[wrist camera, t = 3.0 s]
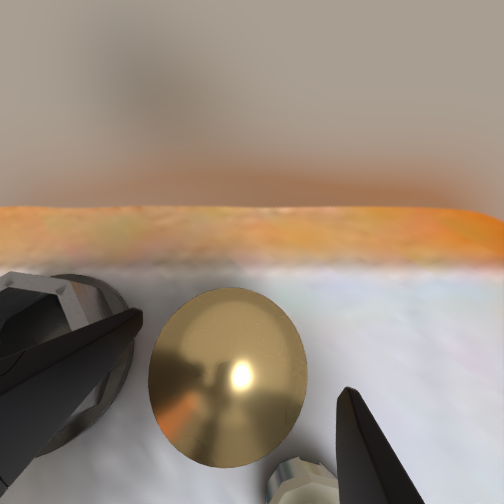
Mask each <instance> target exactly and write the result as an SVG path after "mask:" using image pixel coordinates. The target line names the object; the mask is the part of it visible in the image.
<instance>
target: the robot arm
mask: <svg viewBox="0 0 504 504" xmlns="http://www.w3.org/2000/svg"><path fill="white" fill-rule="evenodd" d="M142 325H143V312H142V310H140V309H137V308H130V309H127V310H125V311H122V312H120V313H117V314H115V315H112V316H110V317H107V318H104V319H102V320H99V321H97V322H94V323H92V324H89V325H87V326H84V327H82V328H79V329H76V330H74V331H71V332H69V333H66V334H64V335H61V336H59V337H56V338H53V339H51V340H48V341H46V342H43V343H41V344H38V345H36V346H33V347H30V348H28V349H27V350H23V351H20V352H18V353H15V354H12V355H10V356H7V357H5V358H2V359H0V497H1V496H2V495H3V494H4V493H5V492H6V490H7V489H8V487H10V486H11V484H12V483H13V482H14V481H15V480H16V479H17V477H18V476H19V475H20V474H21V473H22V472H23V470H24V469H25V468H26V467H27V466H28V465H29V464H30V462H31V461H32V460H33V459H34V458H35V457H36V455H37V454H38V453H39V452H40V451H41V450H42V448H43V447H44V446H45V445H46V444H47V443H48V441H49V440H50V439H51V438H52V437H53V436H54V434H55V433H56V432H57V431H58V430H59V429H60V427H61V426H62V425H63V424H64V423H65V422H66V421H67V419H68V418H69V417H70V416H71V415H72V414H73V412H74V411H75V410H76V409H77V408H78V407H79V405H80V404H81V403H82V402H83V401H84V400H85V398H86V397H87V396H88V395H89V394H90V393H91V391H92V390H93V389H94V388H95V387H96V386H97V385H98V383H99V382H100V381H101V380H102V379H103V378H104V376H105V375H106V374H107V373H108V372H109V371H110V369H111V368H112V367H113V366H114V365H115V364H116V362H117V361H118V360H119V359H120V357H121V356H122V355H123V353H124V352H125V350H126V349H127V348H128V346H129V345H130V343H131V342H132V341H133V339H134V338H135V336H136V335H137V334H138V332H139V331H140V329H141V328H142ZM336 462H337V475H338V489H339V502H340V504H425V503H424V501H423V499H422V498H421V496H420V494H419V493H418V491H417V489H416V488H415V486H414V484H413V483H412V481H411V479H410V478H409V476H408V474H407V473H406V471H405V469H404V467H403V466H402V464H401V462H400V461H399V459H398V457H397V456H396V454H395V452H394V451H393V449H392V447H391V446H390V444H389V442H388V440H387V439H386V437H385V435H384V434H383V432H382V430H381V429H380V427H379V425H378V424H377V422H376V420H375V419H374V417H373V415H372V414H371V412H370V410H369V408H368V407H367V405H366V403H365V402H364V400H363V398H362V397H361V395H360V393H359V392H358V391H357V390H356V389H353V388H351V387H345V388H344V390H343V391H342V392H341V394H340V395H339V397H338V399H337V407H336Z"/></svg>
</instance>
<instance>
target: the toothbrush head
mask: <svg viewBox="0 0 504 504" xmlns="http://www.w3.org/2000/svg"><path fill="white" fill-rule="evenodd" d="M266 504H340V502H339V489H338V479H337V478H336V477H335V476H334V475H333V474H331V473H330V472H329V471H328V470H327V469H326V468H325V467H324V466H323V465H322V464H321V463H320V462H319V464H318V465H317V464H313V463H309V462H306V461H302V460H300V458H299V456H298V457H295V458H293V459H290V460H287V461H285V462H282V463H279V465H278V467H277V468H276V470H275V471H274V473H273V474H272V476H271V477H270V479H269V480H268V482H267V491H266Z"/></svg>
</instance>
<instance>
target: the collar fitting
mask: <svg viewBox="0 0 504 504" xmlns="http://www.w3.org/2000/svg"><path fill="white" fill-rule="evenodd" d="M127 309H128V307H127V305H126V303H125V301H124V300H123V298H122V297H121V296H120V295H119V294H118V292H117V291H115V290H114V289H113V288H112V287H111V286H109V285H107V284H106V283H104V282H102V281H99V280H97V279H94V278H90V277H87V276H82V275H75V274H64V275H56V276H51V277H44V276H37V275H31V274H25V273H18V272H12V271H11V272H9V273H7V274H5V275H3V276H2V277H0V359H2V358H5V357H7V356H10V355H12V354H15V353H18V352H20V351H23V350H27V349H28V348H30V347H33V346H36V345H38V344H41V343H43V342H46V341H48V340H51V339H53V338H56V337H59V336H61V335H64V334H66V333H69V332H71V331H74V330H76V329H79V328H82V327H84V326H87V325H89V324H92V323H94V322H97V321H99V320H102V319H104V318H107V317H110V316H112V315H115V314H117V313H120V312H122V311H125V310H127ZM133 349H134V339H133V341H132V342H131V343H130V345H129V346H128V348H127V349H126V350H125V352H124V353H123V355H122V356H121V357H120V359H119V360H118V361H117V362H116V364H115V365H114V366H113V367H112V368H111V369H110V371H109V372H108V373H107V374H106V375H105V376H104V378H103V379H102V380H101V381H100V382H99V383H98V385H97V386H96V387H95V388H94V389H93V390H92V391H91V393H90V394H89V395H88V396H87V397H86V398H85V400H84V401H83V402H82V403H81V404H80V405H79V407H78V408H77V409H76V410H75V411H74V412H73V414H72V415H71V416H70V417H69V418H68V419H67V421H66V422H65V423H64V424H63V425H62V426H61V427H60V429H59V430H58V431H57V432H56V433H55V434H54V436H53V437H52V438H51V439H50V440H49V441H48V443H47V444H46V445H45V446H44V447H43V448H42V450H41V451H40V452H39V453H38V454H37V455H36V457H39V456H42V455H45V454H47V453H50V452H52V451H54V450H56V449H58V448H60V447H62V446H63V445H65V444H67V443H68V442H70V441H72V440H73V439H75V438H76V437H78V436H79V435H81V434H82V433H84V432H85V431H86V430H87V429H88V428H90V427H91V426H92V425H93V424H94V423H95V422H96V421H97V420H98V419H99V418H100V417H101V416H102V415H103V414H104V413H105V411H106V410H107V409H108V408H109V406H110V405H111V404H112V402H113V401H114V399H115V398H116V396H117V394H118V393H119V391H120V389H121V387H122V385H123V383H124V381H125V379H126V376H127V373H128V371H129V368H130V364H131V360H132V356H133ZM36 457H35V458H36Z"/></svg>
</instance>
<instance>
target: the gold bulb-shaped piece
mask: <svg viewBox="0 0 504 504" xmlns="http://www.w3.org/2000/svg"><path fill="white" fill-rule="evenodd" d="M306 387H307V363H306V356H305V351H304V347H303V344H302V341H301V339H300V336H299V334H298V332H297V330H296V328H295V326H294V324H293V323H292V322H291V320H290V319H289V317H288V316H287V315H286V314H285V312H284V311H283V310H282V309H281V308H280V307H279V306H277V305H276V304H275V303H274V302H272V301H271V300H269V299H268V298H266V297H265V296H263V295H261V294H259V293H256V292H253V291H250V290H246V289H242V288H220V289H215V290H211V291H208V292H205V293H202V294H200V295H198V296H196V297H194V298H193V299H191V300H189V301H188V302H187V303H185V304H184V305H183V306H181V307H180V308H179V309H178V310H177V311H176V312H175V313H174V314H173V315H172V317H171V318H170V319H169V320H168V322H167V323H166V324H165V326H164V328H163V329H162V331H161V332H160V335H159V337H158V339H157V341H156V343H155V346H154V349H153V352H152V356H151V360H150V365H149V375H148V388H149V396H150V402H151V406H152V410H153V413H154V415H155V418H156V421H157V423H158V425H159V427H160V428H161V430H162V432H163V434H164V435H165V436H166V438H167V439H168V440H169V441H170V443H171V444H172V445H173V446H174V447H175V448H176V449H177V450H178V451H179V452H181V453H182V454H184V455H185V456H187V457H188V458H190V459H192V460H194V461H196V462H198V463H200V464H203V465H207V466H210V467H217V468H235V467H239V466H244V465H247V464H250V463H252V462H255V461H257V460H259V459H261V458H262V457H264V456H266V455H267V454H269V453H270V452H271V451H272V450H274V449H275V448H276V447H277V446H278V445H279V444H280V443H281V442H282V441H283V440H284V439H285V438H286V436H287V435H288V433H289V432H290V431H291V429H292V428H293V426H294V424H295V422H296V420H297V418H298V416H299V414H300V411H301V408H302V406H303V402H304V398H305V394H306Z"/></svg>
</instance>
